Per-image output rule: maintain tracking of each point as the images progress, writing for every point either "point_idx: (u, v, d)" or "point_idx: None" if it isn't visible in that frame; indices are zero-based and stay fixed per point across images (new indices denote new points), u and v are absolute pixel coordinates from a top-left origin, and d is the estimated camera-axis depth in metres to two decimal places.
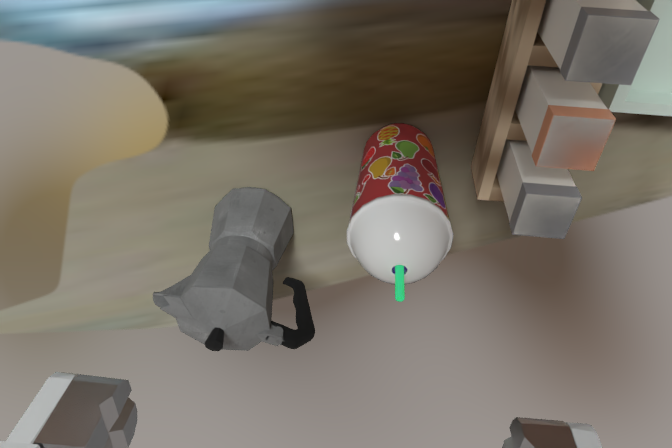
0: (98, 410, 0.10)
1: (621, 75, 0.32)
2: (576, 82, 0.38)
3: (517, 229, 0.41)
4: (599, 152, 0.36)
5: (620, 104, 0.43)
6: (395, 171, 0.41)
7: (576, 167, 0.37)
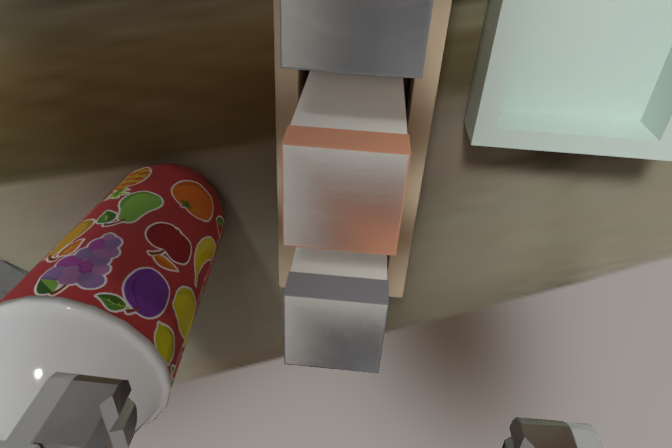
0: (98, 410, 0.10)
1: (397, 57, 0.14)
2: (378, 88, 0.21)
3: (290, 356, 0.22)
4: (396, 220, 0.18)
5: (489, 133, 0.26)
6: (77, 247, 0.23)
7: (361, 248, 0.18)
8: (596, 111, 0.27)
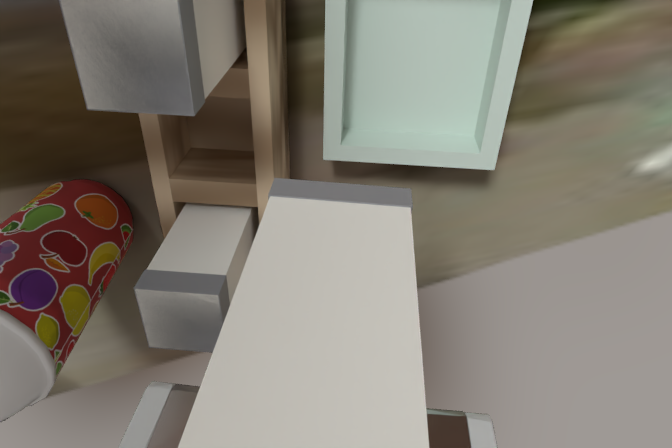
0: None
1: (171, 100, 0.19)
2: (370, 312, 0.11)
3: (152, 340, 0.26)
4: None
5: (336, 149, 0.30)
6: None
7: None
8: (435, 128, 0.31)
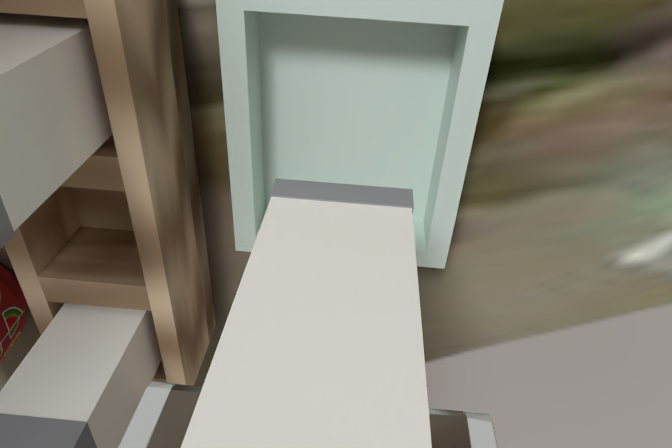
0: None
1: None
2: (372, 313, 0.11)
3: None
4: None
5: (250, 239, 0.24)
6: None
7: None
8: None
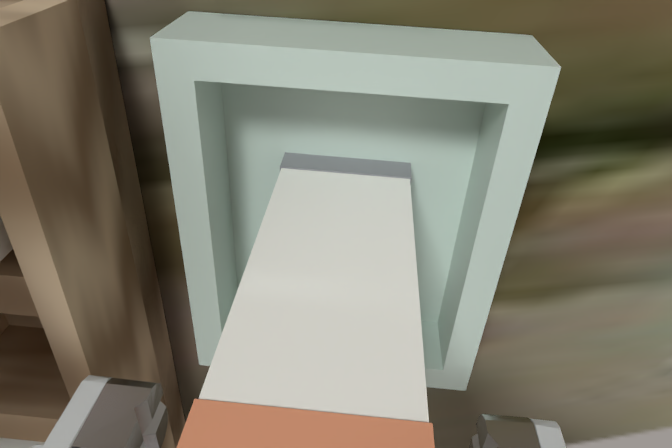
0: (133, 414, 0.10)
1: None
2: (374, 264, 0.12)
3: None
4: None
5: None
6: None
7: None
8: None
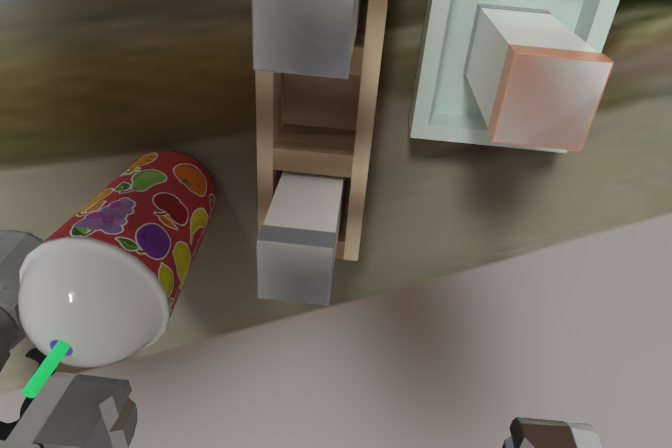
0: (98, 410, 0.10)
1: (330, 64, 0.22)
2: (552, 29, 0.26)
3: (262, 291, 0.29)
4: (588, 120, 0.23)
5: (423, 128, 0.33)
6: (100, 206, 0.30)
7: (554, 145, 0.24)
8: None
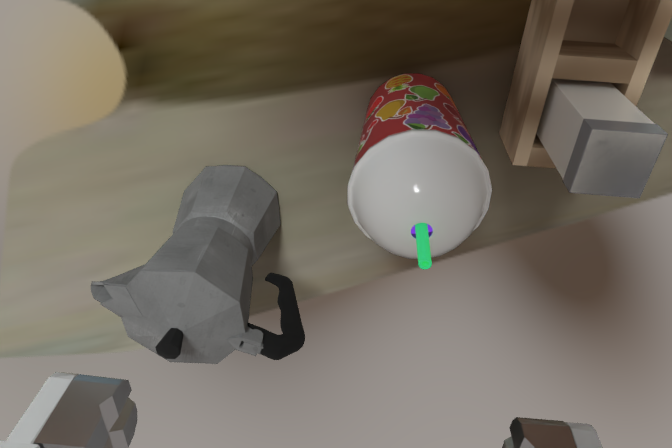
0: (98, 410, 0.10)
1: None
2: None
3: (576, 184, 0.30)
4: None
5: None
6: (411, 110, 0.31)
7: None
8: None
